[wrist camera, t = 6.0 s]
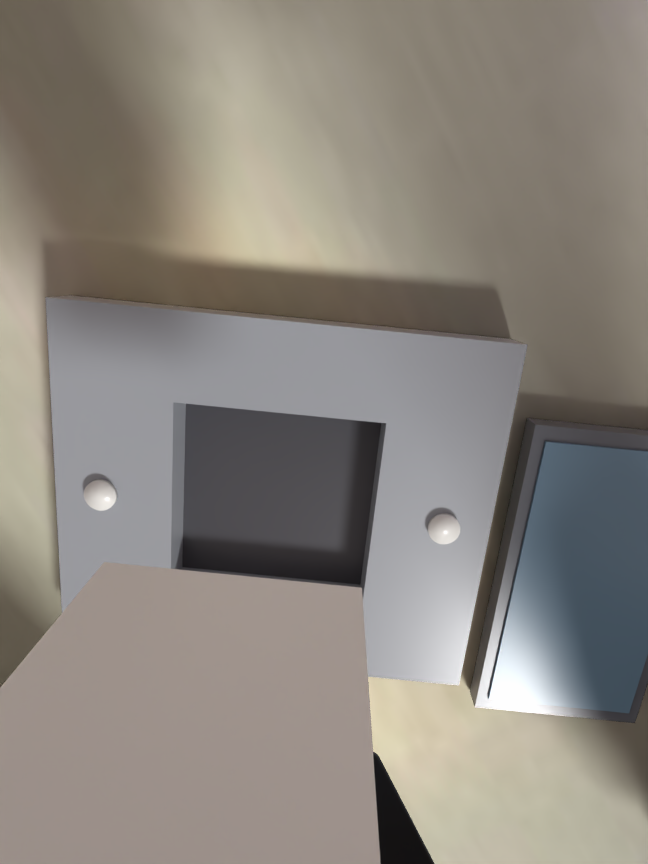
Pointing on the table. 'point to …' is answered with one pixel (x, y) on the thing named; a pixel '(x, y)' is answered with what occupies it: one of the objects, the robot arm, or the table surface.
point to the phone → (571, 578)
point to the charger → (191, 726)
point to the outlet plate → (285, 459)
